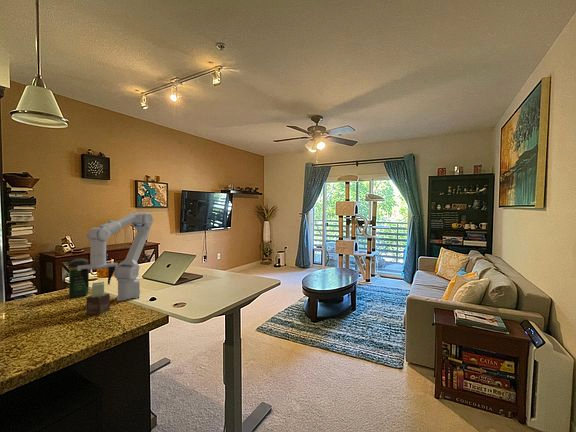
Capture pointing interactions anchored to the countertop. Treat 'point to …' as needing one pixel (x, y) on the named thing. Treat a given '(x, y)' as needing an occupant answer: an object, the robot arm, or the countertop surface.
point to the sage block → (98, 289)
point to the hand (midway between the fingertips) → (98, 285)
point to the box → (98, 304)
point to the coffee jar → (77, 278)
